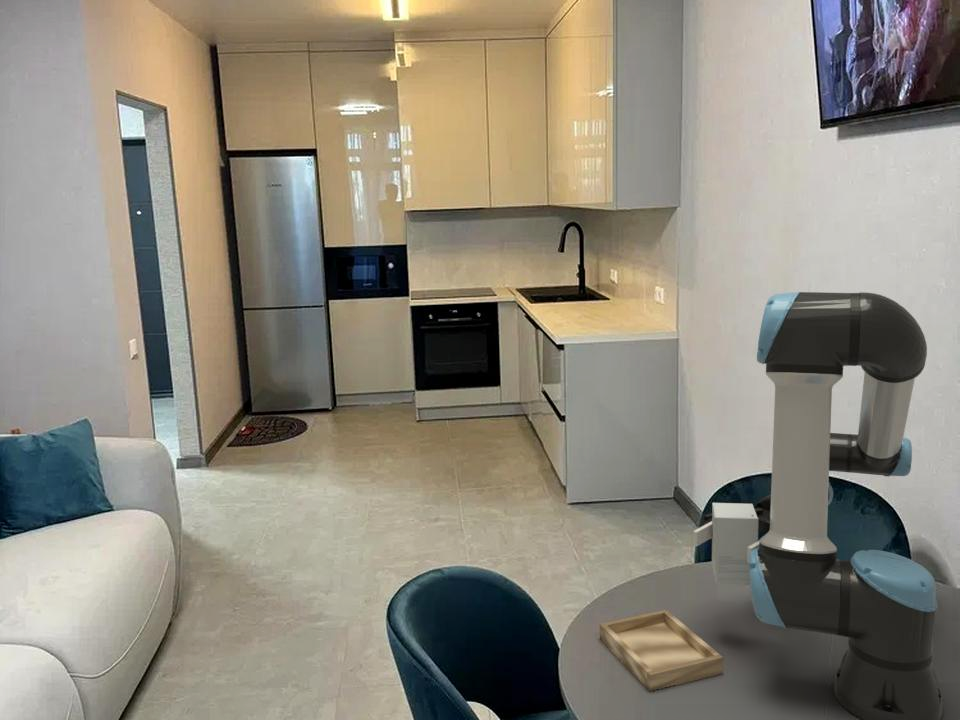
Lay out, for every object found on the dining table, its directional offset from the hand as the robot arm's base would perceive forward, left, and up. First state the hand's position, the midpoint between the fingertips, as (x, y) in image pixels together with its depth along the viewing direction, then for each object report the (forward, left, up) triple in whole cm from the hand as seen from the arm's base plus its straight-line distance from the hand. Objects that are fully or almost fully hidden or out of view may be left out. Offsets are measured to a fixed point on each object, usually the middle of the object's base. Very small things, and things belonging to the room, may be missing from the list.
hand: (721, 546), depth 137 cm
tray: (+2, +11, -19) cm, 23 cm away
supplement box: (+2, -4, -7) cm, 8 cm away
